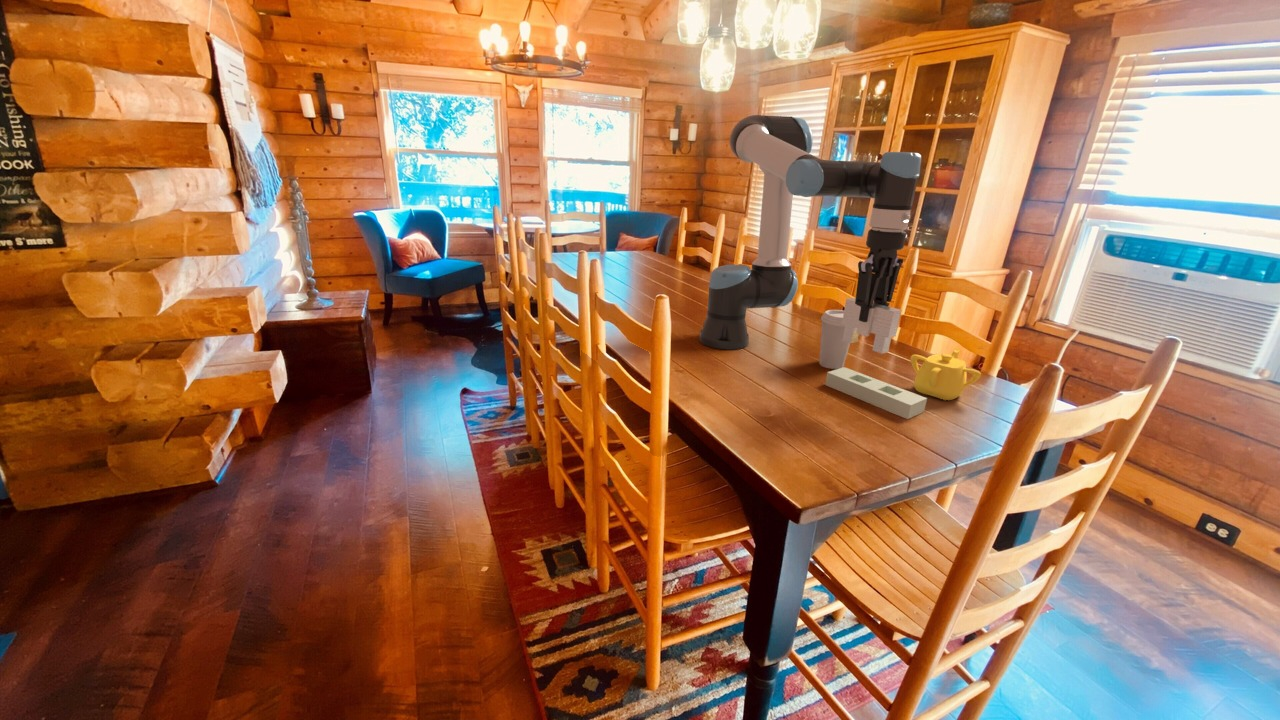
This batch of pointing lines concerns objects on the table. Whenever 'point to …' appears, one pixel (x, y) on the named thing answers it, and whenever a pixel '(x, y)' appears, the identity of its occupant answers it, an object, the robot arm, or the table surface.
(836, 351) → the coffee cup
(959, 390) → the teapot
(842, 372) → the rail
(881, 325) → the grey piece
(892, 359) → the table surface
